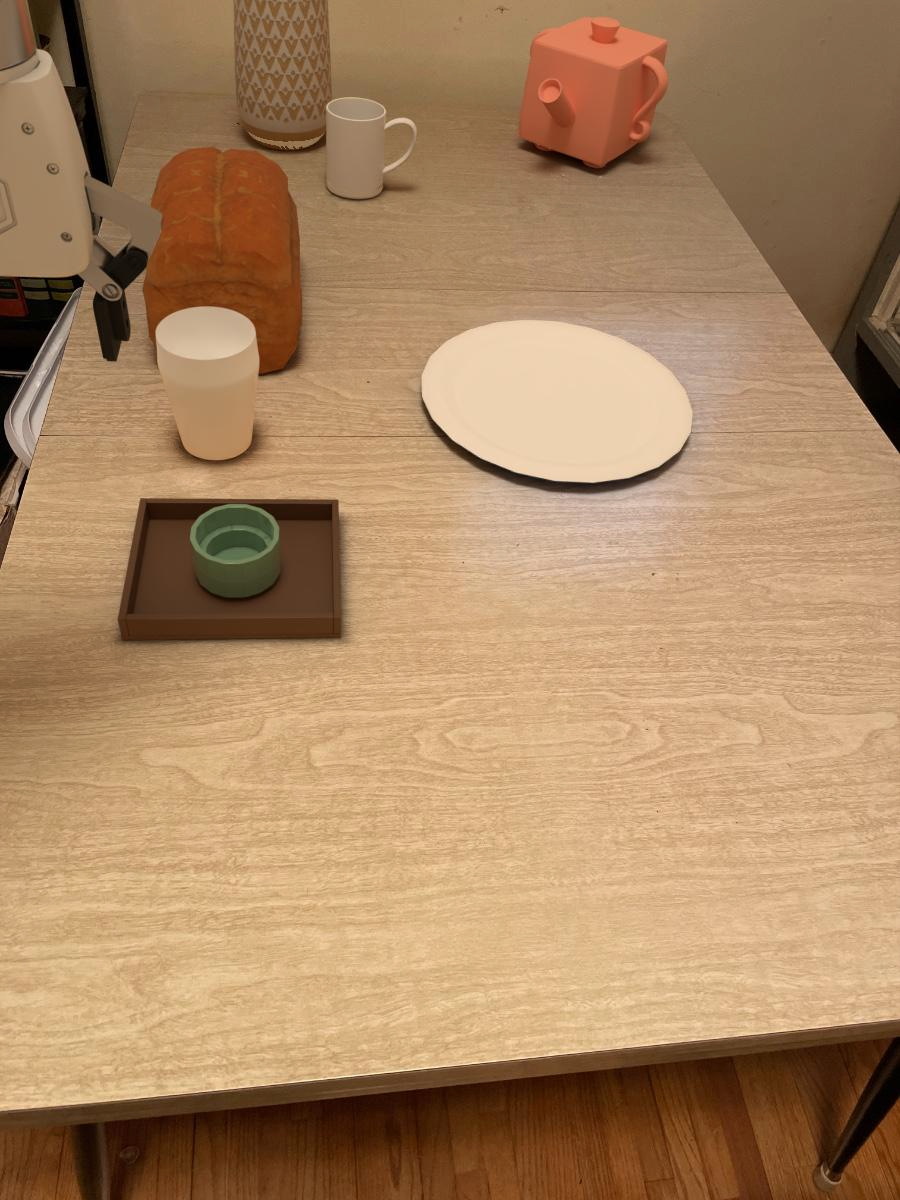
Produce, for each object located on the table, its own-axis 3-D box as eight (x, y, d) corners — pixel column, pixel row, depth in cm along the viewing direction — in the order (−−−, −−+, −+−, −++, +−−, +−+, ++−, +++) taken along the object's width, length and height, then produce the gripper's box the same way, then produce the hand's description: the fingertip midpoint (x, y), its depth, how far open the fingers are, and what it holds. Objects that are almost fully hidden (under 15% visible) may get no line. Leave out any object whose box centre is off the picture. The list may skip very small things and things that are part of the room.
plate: (514, 303, 117) (516, 290, 116) (732, 400, 107) (737, 387, 106) (363, 409, 100) (363, 396, 98) (607, 536, 90) (611, 523, 88)
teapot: (600, 202, 138) (628, 68, 125) (468, 155, 146) (482, 23, 133) (670, 151, 154) (701, 26, 141) (547, 110, 161) (567, -12, 148)
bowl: (192, 602, 79) (186, 563, 76) (199, 542, 84) (194, 503, 80) (280, 601, 80) (277, 563, 77) (282, 542, 85) (280, 504, 81)
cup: (173, 412, 96) (158, 304, 88) (265, 412, 98) (258, 306, 89) (165, 469, 90) (148, 360, 82) (263, 469, 92) (256, 361, 83)
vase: (219, 133, 143) (198, -120, 120) (287, 111, 150) (279, -130, 128) (283, 165, 137) (274, -94, 115) (350, 141, 145) (354, -106, 123)
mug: (323, 197, 132) (322, 116, 124) (329, 172, 137) (329, 94, 129) (411, 206, 132) (416, 127, 125) (414, 181, 138) (419, 104, 130)
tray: (122, 640, 76) (117, 619, 74) (144, 519, 86) (140, 497, 84) (340, 637, 78) (341, 617, 77) (338, 519, 88) (338, 499, 86)
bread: (299, 253, 121) (295, 121, 109) (305, 376, 103) (302, 235, 91) (165, 250, 118) (148, 115, 106) (148, 376, 100) (125, 230, 89)
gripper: (-291, 41, 41) (-146, 380, 54) (128, 68, 43) (173, 386, 56) (-224, -12, 46) (-107, 308, 59) (147, 14, 48) (185, 317, 61)
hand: (30, 346), depth 57 cm, fingers open, 9 cm apart
